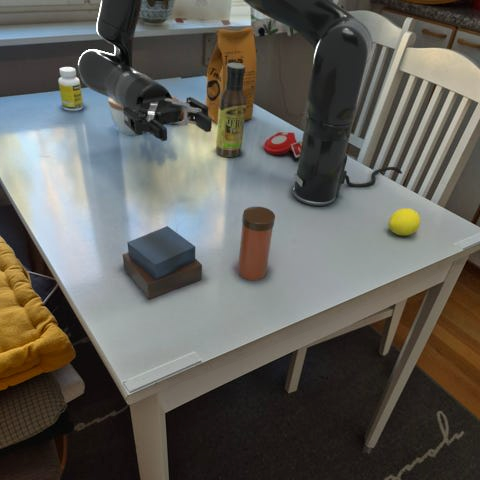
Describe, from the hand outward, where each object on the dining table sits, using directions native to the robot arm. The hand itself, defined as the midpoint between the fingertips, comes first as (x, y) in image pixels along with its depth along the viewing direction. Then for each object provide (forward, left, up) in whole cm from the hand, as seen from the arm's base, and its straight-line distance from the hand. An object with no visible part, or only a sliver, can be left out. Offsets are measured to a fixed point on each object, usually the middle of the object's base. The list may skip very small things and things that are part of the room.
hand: (188, 130), depth 78 cm
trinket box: (-11, -45, -19) cm, 50 cm away
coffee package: (-39, -42, -19) cm, 60 cm away
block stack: (+11, +11, -19) cm, 24 cm away
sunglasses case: (-24, -53, -19) cm, 61 cm away
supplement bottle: (-3, -65, -19) cm, 68 cm away
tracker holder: (-39, -17, -19) cm, 46 cm away
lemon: (-37, +23, -19) cm, 47 cm away
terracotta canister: (-3, +18, -19) cm, 26 cm away
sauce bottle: (-26, -23, -19) cm, 40 cm away
